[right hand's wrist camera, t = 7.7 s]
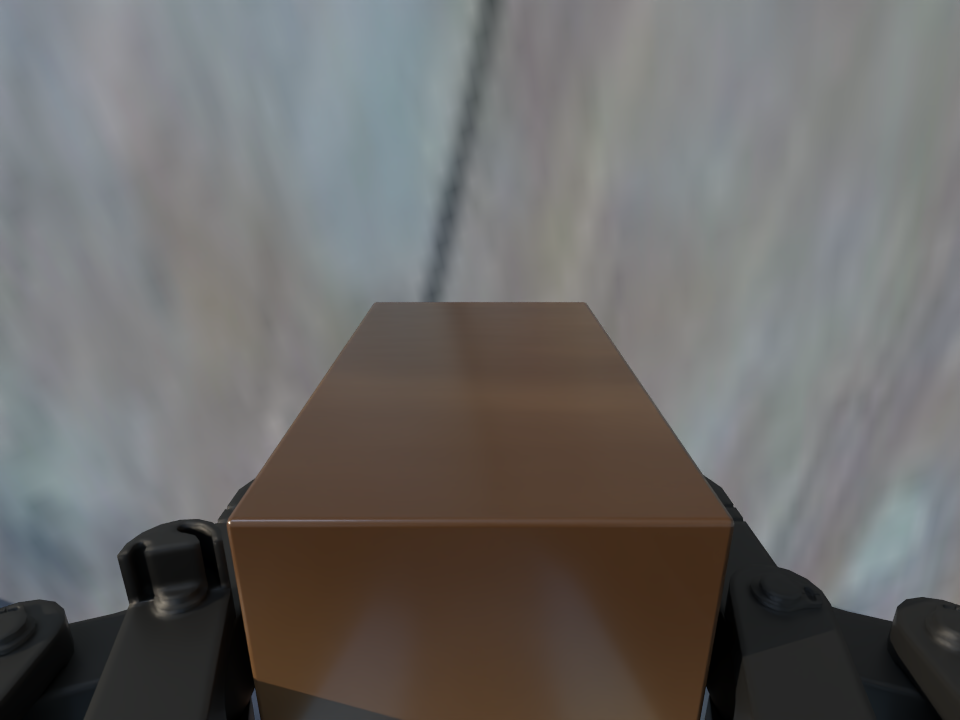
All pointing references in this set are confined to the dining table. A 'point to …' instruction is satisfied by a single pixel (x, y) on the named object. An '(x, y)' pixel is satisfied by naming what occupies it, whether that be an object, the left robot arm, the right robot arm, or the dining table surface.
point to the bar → (480, 531)
